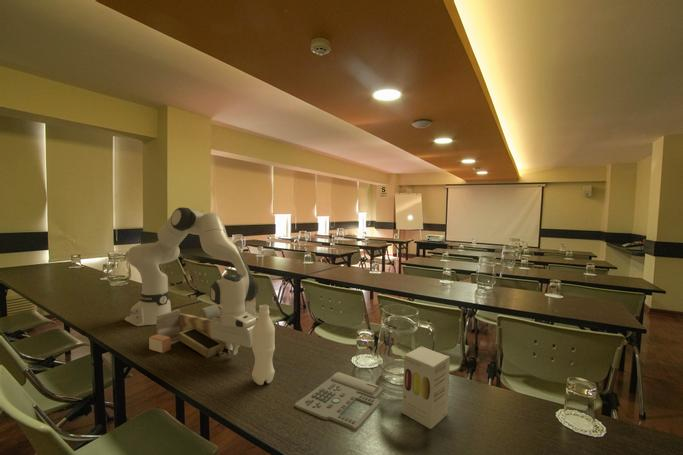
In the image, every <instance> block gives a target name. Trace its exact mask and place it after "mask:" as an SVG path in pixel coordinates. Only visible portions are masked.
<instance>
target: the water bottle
mask: <svg viewBox="0 0 683 455" xmlns="http://www.w3.org/2000/svg"><path fill="white" fill-rule="evenodd" d="M269 308H270V307H269V304H260V305H259V308H258V309H259V310H258V318H257V319H256V320H257V321H256V323H255V325H254V328H253V332H252V333H253V346H252V347H251V350H252V353H253V355H254V366H253V369H252V373H251V375H252V376H251V377H252V381H253V382H254V383H256V384H257V385H259V386H263V385H264V383H267V384H270V383H272V381H273V379H274V376H275V373H276V372H275V371H276V370H275V369H274V368H275V367H274V365H273V357H274V352H275V350H276V344H275V341H276V340H275V332H276V328H275V325H274V323H273V321H272V319H271V318H270V309H269Z"/></svg>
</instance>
